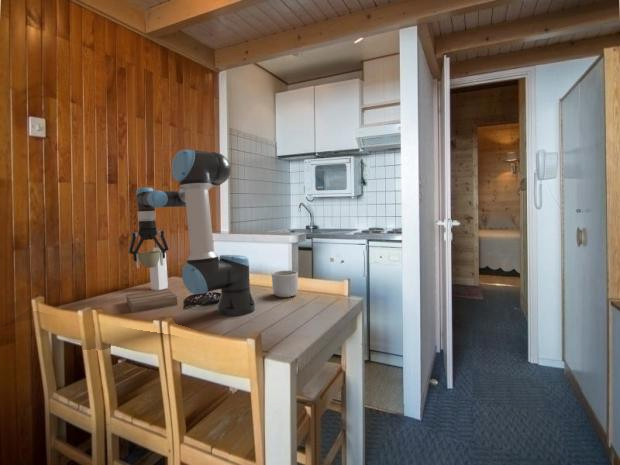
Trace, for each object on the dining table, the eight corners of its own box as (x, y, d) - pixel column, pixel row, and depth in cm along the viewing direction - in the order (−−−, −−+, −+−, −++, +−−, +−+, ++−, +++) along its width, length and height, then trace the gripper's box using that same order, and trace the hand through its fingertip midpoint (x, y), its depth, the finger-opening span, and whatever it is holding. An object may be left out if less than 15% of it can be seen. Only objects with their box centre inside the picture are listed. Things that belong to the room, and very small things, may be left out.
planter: (282, 300, 159) (282, 276, 158) (267, 295, 169) (266, 273, 168) (303, 295, 167) (303, 272, 166) (287, 290, 177) (287, 269, 176)
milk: (159, 287, 192) (157, 246, 190) (168, 287, 189) (165, 247, 188) (150, 289, 186) (148, 248, 185) (159, 290, 184) (156, 248, 182)
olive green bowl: (165, 265, 173) (164, 250, 173) (154, 268, 164) (153, 253, 163) (146, 265, 175) (145, 251, 174) (134, 269, 165) (133, 253, 164)
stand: (177, 305, 156) (176, 296, 155) (132, 312, 146) (131, 303, 145) (168, 296, 171) (167, 288, 170) (126, 303, 161) (126, 294, 160)
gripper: (170, 219, 177) (172, 262, 178) (119, 221, 165) (123, 268, 166) (173, 219, 171) (176, 264, 172) (121, 221, 158) (124, 270, 160)
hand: (150, 266), depth 169 cm, fingers closed on olive green bowl, 10 cm apart
